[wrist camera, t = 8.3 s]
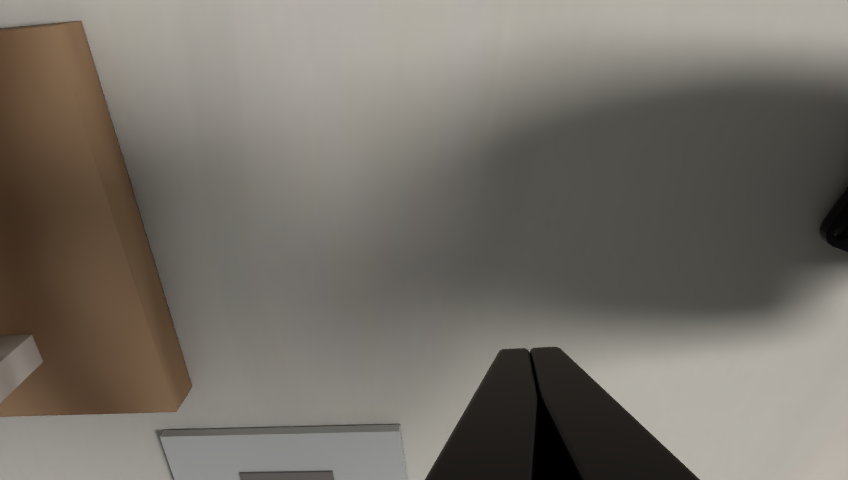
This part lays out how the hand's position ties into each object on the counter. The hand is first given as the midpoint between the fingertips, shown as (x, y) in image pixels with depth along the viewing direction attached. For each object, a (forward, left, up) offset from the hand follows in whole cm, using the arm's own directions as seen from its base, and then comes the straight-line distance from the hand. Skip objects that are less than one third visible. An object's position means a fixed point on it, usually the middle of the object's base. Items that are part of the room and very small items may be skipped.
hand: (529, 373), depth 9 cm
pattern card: (+2, +18, -12) cm, 22 cm away
